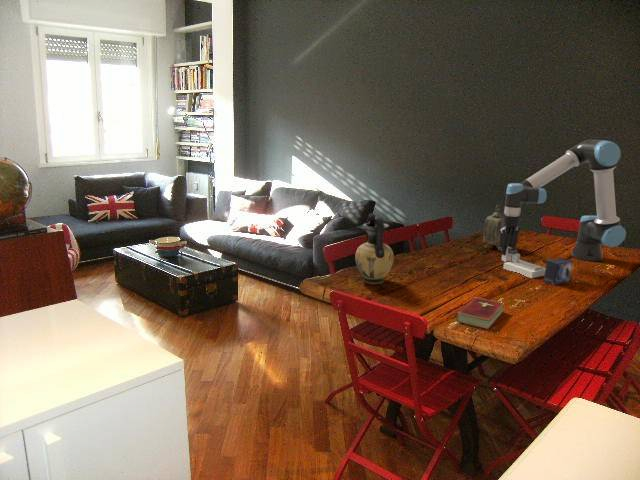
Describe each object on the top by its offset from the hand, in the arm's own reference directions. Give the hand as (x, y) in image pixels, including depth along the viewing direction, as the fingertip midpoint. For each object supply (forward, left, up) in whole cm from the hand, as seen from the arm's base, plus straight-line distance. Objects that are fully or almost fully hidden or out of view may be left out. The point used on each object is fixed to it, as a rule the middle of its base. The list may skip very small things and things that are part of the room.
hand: (506, 260), depth 270 cm
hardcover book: (+65, +41, -3) cm, 77 cm away
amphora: (+76, -11, -3) cm, 77 cm away
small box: (0, +29, -3) cm, 29 cm away
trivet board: (0, +12, -3) cm, 12 cm away
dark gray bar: (0, +7, 0) cm, 7 cm away
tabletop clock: (-23, -27, -3) cm, 36 cm away
